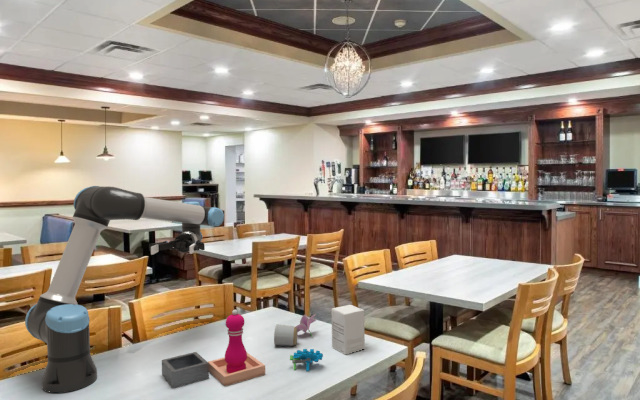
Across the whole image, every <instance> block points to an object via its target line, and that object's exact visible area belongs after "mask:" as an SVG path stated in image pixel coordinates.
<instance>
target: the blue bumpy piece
mask: <svg viewBox="0 0 640 400" xmlns="http://www.w3.org/2000/svg"><path fill="white" fill-rule="evenodd" d="M323 357H324V354H323V353H321V351H320V350H316V351H315V349H314V348H310V349H309V351H308V349H307V348H303V349H302V350H300V349H297V350H296V352H293V355H292V354H289V360H290V361H292V362H291V363H292V364H293V371H296V368H297V367H296V366H297V364H305V365H306V367H305V368H306V372H310V364H313V363H319V362H320V361H322V360H323ZM319 360H320V361H319Z"/></svg>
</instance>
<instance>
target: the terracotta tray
mask: <svg viewBox="0 0 640 400" xmlns="http://www.w3.org/2000/svg"><path fill="white" fill-rule="evenodd" d="M207 362H208V363H209V374H210V375H211V376H213V377H214V378H215V379H216V380H217V381H218V382H219V383H220V384H221V385H222V386H223V387H228V386H231V385H234V384H238V383H242V382H244V381H248V380H251V379H255V378H258V377H259V378H260V377H262V376H265V375H266V365H265V364H264V363H263V362H261V360H258V359H257V358H256V357H254V356H253V355H251V354H250V353H248V352H247V359H246V361H245V363H246V369H244V370H241V371H237V372H234V373H228V372H227V371H226V365H227V363H226V361H225V356H224V357H220V358H217V359H213V360H210V361H207Z"/></svg>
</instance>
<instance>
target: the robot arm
mask: <svg viewBox="0 0 640 400" xmlns="http://www.w3.org/2000/svg"><path fill="white" fill-rule="evenodd" d="M73 207H74V213H73V215H72V220H73V222H74V226H73V227H72V230H71V233H70V235H69V238H68V240H67V243H66V244H65V248H64V251H63V253H62V254H61V255H62V256H61V258H60V260H59V262H58V265H57V268H56V270H55V272H54V274H53V277H52V280H51V282H50V285H49V287H48V290H47V291H46V292H44V293H42V294H40V296H39V298H38V300H37V302H36V304H34V305H33V306H32V307H30V308H29V310H28V311H27V313H26V316H25V319H24V322H25V329H26V330H27V332H28V333H29V334H30V335H31V336H32V337H33V338H35V339H37V340H38V341H39V340H40V341H42V342H44V343H46V346H47V347H46V349H47V364H46V366H45V367H46V368H45V371H44V374H43V377H42V381H41V383H42V386H41V388H42V387H43V388H42V390H43V389H44V390H46V391H50V392H63V393H68V391H70V392H73V390H74V391H77V389H78V390H80V388H81V389H83V388H85V387H87V386H90V385H92V384H93V383H94V382H95V381H96V380H97V379H98V369H97V367H96V365H95V364H96V363H95V362H94V360H93V356H92V355H91V342H90V341H91V339H90V338H91V337H90V315H89V311H88V309H87V308H86V307H85V306H83V305H81V304H78V302H77V300H76V296H77V293H78V291H79V288H80V285H81V283H82V280H83V278H84V275H85V273H86V270H87V267H88V265H89V262H90V260H91V257H92V255H93V252H94V250H95V248H96V245H97V242H98V239H99V237H100V235H101V232H102V231H104V230H106V229H108V226H109V225H110V222H111V221H117V220H118V221H119V220H121V221H122V220H128V221H129V220H130V221H131V220H132V221H139V220H140V219H147V220H149V219H150V220H156V221H165V222H175V223H181V233H180V234H177V236H175V239H173V240H164V241H159V242H154V243H149V245H148V246H149V249H148V250H149V252H150V255H151V256H152V255H156V254H157V253H159V251H164V250H165V251H166V250H170V251H174V250H176V251H178V252H179V253H188V252H189V255H190V254H191V255H192V254H194V253H195V252H196V251H197V252H198V251H200V250H201V251H205V242H202V241H203V234H202V232H201V226H206V227H219V226H221V225H222V224H223V222H224V219H225V215H224V211H223V210H222V209H221V208H218V207H215V206H213V207H211V206H210V207H209V206H203V205H201V204H200V202H199V201H184V202H178V201H173V200H172V201H171V200H167V199H162V198H161V199H159V198H154V197H148V196H144V194H143V193H141V192H135V191H131V190H127V189H123V188H119V187H115V186H99V185H92V186H89V187H88V186H87V187H84V188H82V189H81V190H80V191H79V192H78V193H77V194H76V195H75V197H74V200H73ZM44 390H43V391H44ZM46 391H45V392H46ZM50 392H49V393H50Z"/></svg>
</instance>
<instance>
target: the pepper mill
mask: <svg viewBox="0 0 640 400" xmlns="http://www.w3.org/2000/svg"><path fill="white" fill-rule="evenodd" d="M231 312H232V314H230V315H228V316H227V317H226V320H225V326H226V328H227V335H228V344H227V347H226V348H225V352H224V357H225V361H226V363H227V365H226V371H227V372H228V373H234V372H237V371H241V370H244V369H246V363H245V361H246V359H247V353H248V352H247V350H246V348H245V345H244V342H243V334H244V327H245V318H244V316H243V315H241V314H239V313H238V310H237V309H233V310H232V311H231Z"/></svg>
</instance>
